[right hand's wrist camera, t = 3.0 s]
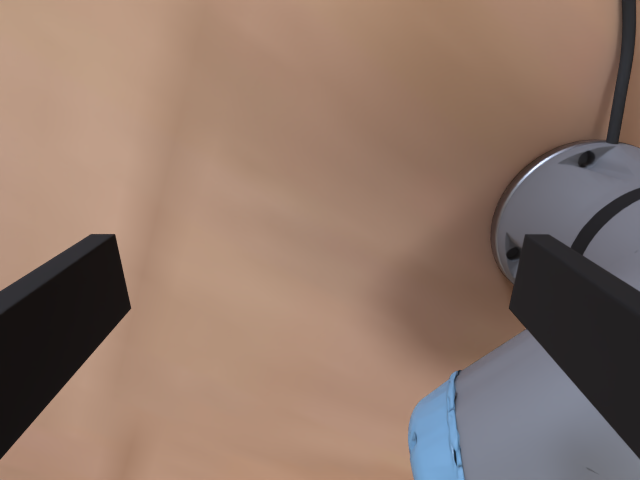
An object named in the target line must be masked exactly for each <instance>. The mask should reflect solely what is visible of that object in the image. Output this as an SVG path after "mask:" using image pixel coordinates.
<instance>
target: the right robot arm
mask: <svg viewBox="0 0 640 480" xmlns="http://www.w3.org/2000/svg"><path fill="white" fill-rule="evenodd" d="M622 22H623V27H622V46H621V56H620V63H619V70H618V75H617V81H616V86H615V92H614V98H613V104H612V110H611V116H610V122H609V128H608V134H607V140H584V141H578V142H573V143H569V144H566V145H563V146H560V147H558V148H555V149H553V150H551V151H549V152H547V153H545V154H543V155H542V156H540V157H539V158H537V159H536V160H534V161H533V162H531V163H530V164H529V165H528V166H526V167H525V168H524V169H523V170H522V171H521V172H520V173H519V174H518V175H517V176H516V177H515V178H514V179H513V180H512V182H511V183H510V184H509V186H508V187H507V188H506V190H505V192H504V193H503V195H502V197H501V199H500V200H499V202H498V205H497V207H496V210H495V213H494V216H493V220H492V225H491V247H492V251H493V255H494V258H495V261H496V263H497V265H498V267H499V268H500V270H501V271H502V272H503V274H504V275H505V276H506V277H507V278H508V279H509V280H510V281H511V282H512V283H513V284H514V287H513V292H512V296H511V301H510V305H509V309H510V310H511V311H512V313H513V314H514V315H515V316H516V317H517V318H518V319H519V321H520V322H521V323H522V324H523V325H524V326H525V328H526V330H524V331H523V332H521V333H519V334H518V335H516V336H515V337H513V338H512V339H510V340H509V341H507V342H505V343H504V344H502V345H501V346H499V347H498V348H496V349H495V350H493V351H492V352H490V353H488V354H487V355H485V356H484V357H482V358H481V359H479V360H478V361H476V362H474V363H473V364H471V365H470V366H468V367H467V368H465V369H464V370H459V371H456V372H454V373H452V374H451V376H450V378H449V380H448V381H446V382H445V383H443V384H442V385H441V386H439V387H438V388H437V389H435V390H434V391H433V392H431V393H430V394H428V395H427V396H426V397H424V398H423V399H422V400H421V401H420V402H419V403H418V404H417V405H416V407H415V408H414V410H413V412H412V415H411V418H410V423H409V430H408V443H409V451H410V462H411V467H412V472H413V477H414V480H640V148H638V147H635V146H633V145H629V144H625V143H620V142H618V141H619V135H620V130H621V124H622V118H623V113H624V107H625V101H626V95H627V89H628V84H629V79H630V73H631V68H632V61H633V54H634V46H635V33H636V0H622ZM130 309H131V305H130V301H129V296H128V292H127V287H126V282H125V278H124V273H123V269H122V264H121V259H120V255H119V250H118V246H117V241H116V236H115V234H91V235H89V236H88V237H86V238H84V239H83V240H81V241H80V242H78V243H76V244H75V245H73V246H72V247H70V248H68V249H67V250H65V251H64V252H62V253H60V254H59V255H57V256H56V257H54V258H53V259H51V260H49V261H48V262H46V263H45V264H43V265H41V266H40V267H38V268H37V269H35V270H33V271H32V272H30V273H29V274H27V275H25V276H24V277H22V278H21V279H19V280H18V281H16V282H14V283H13V284H11V285H10V286H8V287H6V288H5V289H3V290H2V291H0V459H1V458H2V457H3V456H4V455H5V453H6V452H7V451H8V450H9V449H10V448H11V446H12V445H13V444H14V443H15V442H16V441H17V440H18V438H19V437H20V436H21V435H22V434H23V433H24V431H25V430H26V429H27V428H28V427H29V426H30V425H31V423H32V422H33V421H34V420H35V419H36V418H37V416H38V415H39V414H40V413H41V412H42V411H43V410H44V408H45V407H46V406H47V405H48V404H49V403H50V401H51V400H52V399H53V398H54V397H55V396H56V395H57V393H58V392H59V391H60V390H61V389H62V388H63V386H64V385H65V384H66V383H67V382H68V381H69V380H70V378H71V377H72V376H73V375H74V374H75V373H76V371H77V370H78V369H79V368H80V367H81V366H82V365H83V363H84V362H85V361H86V360H87V359H88V358H89V356H90V355H91V354H92V353H93V352H94V351H95V349H96V348H97V347H98V346H99V345H100V344H101V343H102V341H103V340H104V339H105V338H106V337H107V336H108V334H109V333H110V332H111V331H112V330H113V329H114V328H115V326H116V325H117V324H118V323H119V322H120V321H121V319H122V318H123V317H124V316H125V315H126V314H127V313H128V311H129V310H130Z"/></svg>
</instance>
